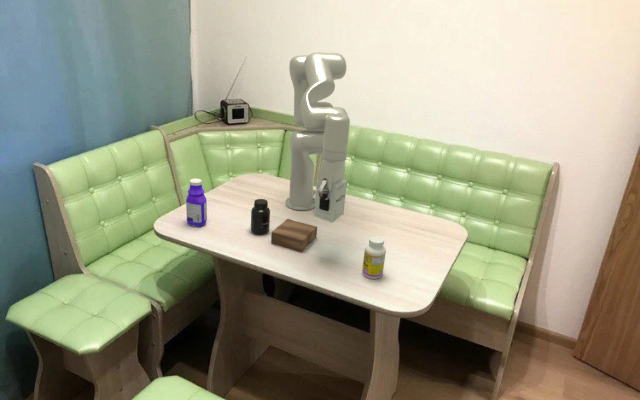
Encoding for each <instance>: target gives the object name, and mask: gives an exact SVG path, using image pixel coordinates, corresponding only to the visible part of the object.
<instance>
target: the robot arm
mask: <svg viewBox="0 0 640 400" xmlns="http://www.w3.org/2000/svg"><path fill="white" fill-rule="evenodd" d="M288 67H289V76H290V79H291V82H292V87H293V92H294V93H293V94H294V96H293V120H294V123H295V125H296V126H298V127H304V128H305V129H299V130H298V129H297V130H295V131H293V132H292V133H291V134H290V136H289V147H290V149H289V150H290V177H289V178H290V179H289V194H288V195H289V196H288V198H286V199H285V201H284V202H285V206H286V207H287V208H289V209H291V210H295V211H310V210H312V209H315V199H314V198H313V196H315V195H316V189H314V180H315V179H314V178H315V162H314V161H313V159H312V158H311V157H310V156H311V155H321V162H320V167H319V172H318V179H317V181H318V189H319V190H318V193H319V198H320V204H319V209H321V210H324V211H328V210H329V202H330V199H329V196H330V192H331V191H332V188H333V186H334V185H335V184H337V183H338V182H340V181H341V180H342V179H344V180H345V169H346V160H347V152H348V143H349V133H350V125H351V122H350V121H351V120H350V117H349V115H348V112H347V110H346V109H345V108H343V107H341V106H340V107H339V106H338V107H337V106H333V104H332V103H330V102H327V101H322V100H325V99H327V98H328V97H330V96H331V95H332V94H334V92H335V90H336V84H335V81H336V80H341V79H343V78H344V77H345V75H346V73H347V62H346V59H345V57H344V56H343V55H342V54H340V53H339V52H338V53H335V52H312V53H310V54H308V55H306V54H304V55H303V54H302V55H296V56H293V57H291V59H290V60H289V66H288ZM326 185H327V187H328V188H329V190H327V189H325V187H326ZM324 191H326V192H327V196H326V194H325V193H324Z"/></svg>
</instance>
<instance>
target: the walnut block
mask: <svg viewBox="0 0 640 400" xmlns="http://www.w3.org/2000/svg"><path fill="white" fill-rule="evenodd" d="M317 234H318V226H316V225H313V224H308V223H304V222H300V221H297V220H293V219H291V218H286V219H285V220H284V221H283V222H282V223H281V224H280V225H278V226H277V227H275V229H273V230H272V231H271V235H270V237H271V240H270V244H271V245H274V246H278V247H281V248H284V249H288V250H291V251H295V252H299V253H303V252H304V251H305V250H306V249H308V247H309V246H311V244H312V243H313V242H314V241H315V240H317V237H318V236H317Z"/></svg>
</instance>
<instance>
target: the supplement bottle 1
mask: <svg viewBox="0 0 640 400" xmlns="http://www.w3.org/2000/svg"><path fill="white" fill-rule="evenodd" d="M268 203H269V201H268V199H265V198H257V199H254V201H253V207H252V208H251V210H250V233H252V234H254V235H257V236H263V235H266V234H268V233H269V232H270V224H271V209H270V208H269V204H268Z"/></svg>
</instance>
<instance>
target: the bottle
mask: <svg viewBox="0 0 640 400" xmlns="http://www.w3.org/2000/svg"><path fill="white" fill-rule="evenodd" d="M204 193H205V189H204V188H203V182H202V179H200V178H191V179H190V180H189V188H188V190H187V194H188V195H187V196H186V199H185V202H186V203H185V205H186V206H185V207H186V222H187V224H188V225H190V226H192V227H203V226H204V225H206V223H207V222H208V219H207V218H208V212H207V211H208V206H207V205H208V204H207V201H208V200H207V197H206V196H205V194H204Z"/></svg>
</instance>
